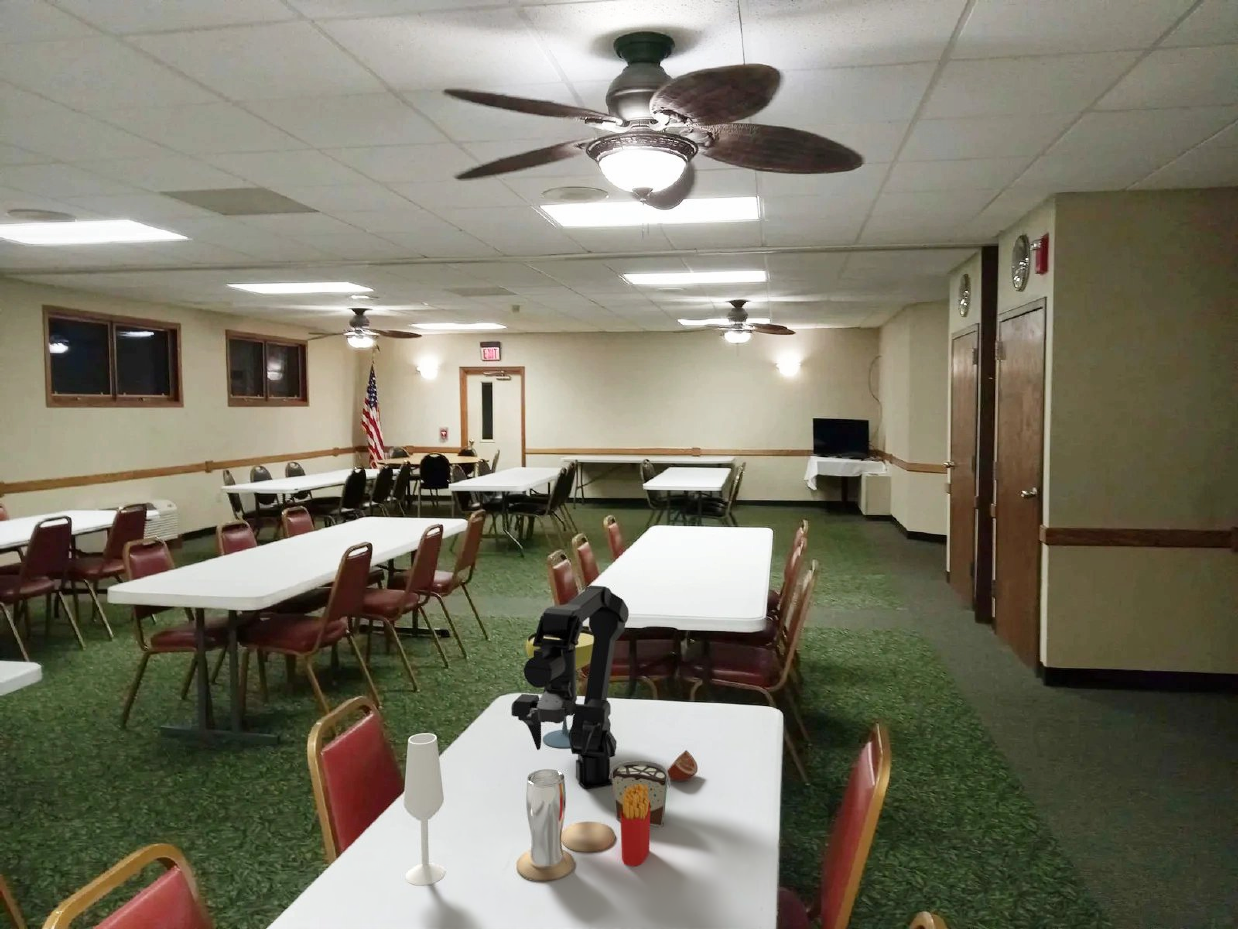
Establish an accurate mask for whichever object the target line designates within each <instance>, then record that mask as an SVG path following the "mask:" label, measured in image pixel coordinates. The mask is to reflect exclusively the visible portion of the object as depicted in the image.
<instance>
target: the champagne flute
mask: <svg viewBox="0 0 1238 929" xmlns="http://www.w3.org/2000/svg"><path fill="white" fill-rule="evenodd" d="M407 739H408V740H407V752H406V765H405V766H406V767H405V779H404V781H405V782H404V793H403V807H404V808H405V810H406V812H407V813H408V814H409V815H410V817H412V818H415V820H418V821H420V844H421V845H420V846H421V850H420V851H421V863H419V864H418V865H415V866H414V867H412V868H411V869H409V870H408V871H406V874H405V880H406V882H408V883H409V884H411V885H414V886H427V885H432V884H434V883H436V882H439V881H440V880H442V879H443V877H445V874H446V870H445V868H444V867H443V865H440V864H437V863H432V862H429V860H430V859H429V855H430V854H429V852H430V851H429V820H431V819H432V818H433V816H435V815H436V814H437V813H438V812H439V811H440V809H441V807H442V806H443V804H444V799H445V798H444V787H443V781H442V773H441V772H442V771H441V762H440V756H439V755H440V754H439V747H438V746H439V745H438V738H437V735H436V734H434V733H431V732H430V733H427V732H426V733H417V734H413V735H412V736H410V737H409V738H407Z"/></svg>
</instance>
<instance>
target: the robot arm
mask: <svg viewBox="0 0 1238 929" xmlns="http://www.w3.org/2000/svg"><path fill="white" fill-rule="evenodd" d="M540 615H541V616H540V618H539V622H538V624H537V629H536V632H535V633H536V635H535V638H534V642H533V646H534V647H540V649H536V650H534V657H532V658H529V659H528V660H527V661H526V662H525V665H524V667H523V675H524V678H525V679H526V681H527V683H528V684H529V685H530V686H532V687H534V688H538V689H540V688H543V692H542V694H541V696H540V697H539V695H538V694H528V693H521V695H519V696H518V697H517V698H516V699H515V700H514V701H513V702H512V704H511V709H510V710H511V712H510V713H511V716H512V717H517V719H518V721H521V722H523V723H525V725H526V726H527V728H528V730H529V732H530V734H531V737H532V740H533V743H534V745H535V748H536V750H537V751H539V750H540V749H541V747H542V723H554V724H561V723H563V720H564V717H566V718H567V717H568V716H570V717H572V724H571V727H570V729H569V730H570V732H569V741H570V747H571V748H570V751H571V755H577V759H576V760H575V778H576V780H577V781H578V783H580V786H582V787H583V789H585V790H587V789H593V788H597V787H603V786H609V785H613V784H612V777H611V778H610V779H609V775H610V771H611V766H610V765H611V758H614V757H615V756H616V751H617V750H616V749H617V743H618V742H617V739H616V738H615V737H614V735H613V733H612V732H611V726H612V725H611V720H610V718H609V717H610V715H611V714H612V713H611V712H612V711H611V710H612V709H611V704H610V702H609V700H608V694H609V686H610V681H611V680H610V679H611V672H612V665H613V659H614V651H615V644H616V642H617V641H618V640H619V638H620V637H621V635H622V634H623V633H624V632H625V628H626V623H627V622H628V621H629V620H628V619H629V608H628V606H627V604H626V602H625V600H624V599H622V598H621V597H620V596H618V595H616V594H615V593H613V591H611V589H610V587H607V586H603V585H592V584H590V585H587V586H586V587H585V588H584V590H583V591H582V592H580V593H578V595H576V596H575V597H573V598H572V599H571V600H570V601H568V602H566V603H565V604H560V605H553V606H549V607H547V608H545V610H544V611H543V613H542V614H540ZM587 619H588V626H589V627H588V628H589V630H590V631H591V632H592V634H593V637H594V641H593V648H592V654H591V661H590V663H589V669H588V673H587V681H586V688H585V694H584V700H583V703H582V704H581V703H577V702H576V701H577V700H578V694H577V693H576V692H577V691H576V689H577V686H576V684H577V683H576V682H577V679H578V675H577V673H576V647H575V646H576V645H578V643H579V642H578V639H579V636H580V633H581V631H582V630H584V627H583V626H584V621H586V620H587ZM544 636H545V637H550V638H559V640H558V639H548V638H544Z"/></svg>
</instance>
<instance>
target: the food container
mask: <svg viewBox="0 0 1238 929" xmlns="http://www.w3.org/2000/svg"><path fill="white" fill-rule="evenodd" d="M667 770H668V769H667V768H666V767H664V766H663V765H662V764H659V763H657V762H654V761H648V760H629V761H624V762H620V763H618V764H615V765H614V766H612V768H610V775H609V779H610V778H611V780H612V784H611V785H612V790H613V801H614V802H613V803H614V809H615V819H616V820H618V821H621V820H620V813H621V812H622V810H623V800H622V797H623V794H624V793H626V791H625V789H627V787H630V788H631V786H633V787H634V785H635V784H636V785H637V786H638V784H641V785H642V786H643V787H645V785H647V786H648V800H649V802H650V826H653V827H659V828H660V827H663V826H664V823H665V822H664V820H665V814H666V813H665V810H666V802H667V790H668V788H671V785H672V783H671V779H670V777H669V774H668V772H667ZM644 791H645V789H644Z"/></svg>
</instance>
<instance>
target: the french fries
mask: <svg viewBox="0 0 1238 929" xmlns="http://www.w3.org/2000/svg"><path fill="white" fill-rule="evenodd" d="M644 789H645V791H644ZM625 791H626V793H624V794H623V797H622V800H623V810H622V812H621V813H620V820H619V821H620V839H621V840H620V841H621V842H620V843H621V844H620V845H621V860H622V863H623V865H627V866H632V867H636V866H639V865H642V864H643V863H644V861H645V860H646V858H647V857H648V855H649V854H650V842H651V841H650V833H651V832H650V831H651V825H650V802H649V800H648V786H647V785H645V787H643V786H642V785H641V784H638V786H637V785H636V784H635V785H634V787H633V786H631V788H630V787H627V789H625Z"/></svg>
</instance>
